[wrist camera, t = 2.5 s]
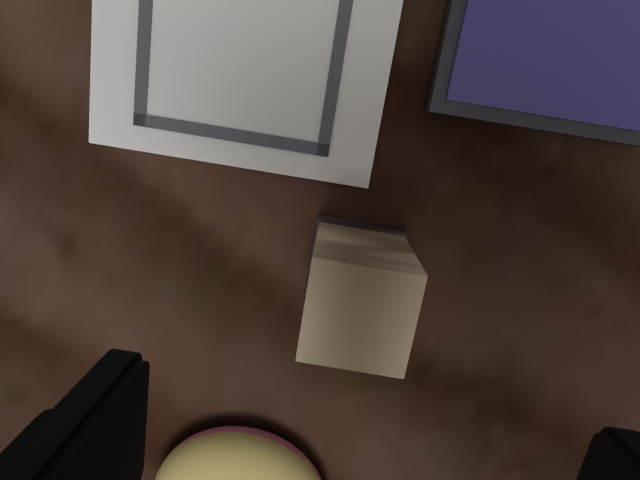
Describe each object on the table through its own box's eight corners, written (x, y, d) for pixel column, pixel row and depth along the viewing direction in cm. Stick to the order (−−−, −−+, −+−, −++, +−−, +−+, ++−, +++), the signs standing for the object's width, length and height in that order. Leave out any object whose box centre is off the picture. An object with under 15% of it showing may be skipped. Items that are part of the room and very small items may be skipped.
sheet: (419, -87, 19) (420, -91, 19) (367, 187, 22) (368, 188, 22) (98, -139, 19) (94, -144, 19) (90, 142, 22) (87, 142, 22)
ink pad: (695, -43, 19) (720, -55, 18) (633, 146, 21) (651, 147, 20) (465, -80, 19) (474, -94, 18) (425, 112, 21) (430, 111, 20)
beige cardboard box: (405, 228, 23) (433, 273, 16) (387, 309, 24) (406, 383, 17) (318, 214, 23) (308, 252, 16) (304, 296, 24) (290, 364, 17)
